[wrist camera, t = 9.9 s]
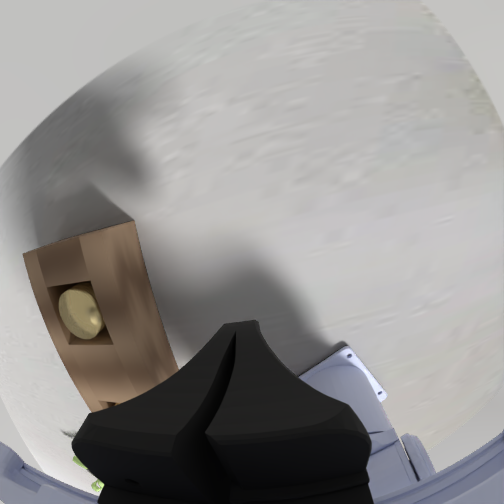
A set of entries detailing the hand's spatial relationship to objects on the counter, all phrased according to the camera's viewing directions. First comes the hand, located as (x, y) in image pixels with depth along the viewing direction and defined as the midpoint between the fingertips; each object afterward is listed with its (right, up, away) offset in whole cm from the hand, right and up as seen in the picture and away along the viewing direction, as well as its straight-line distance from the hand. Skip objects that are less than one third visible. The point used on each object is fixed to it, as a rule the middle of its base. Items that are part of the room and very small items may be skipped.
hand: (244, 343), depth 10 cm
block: (-11, -5, +12) cm, 18 cm away
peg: (-12, 0, +11) cm, 17 cm away
